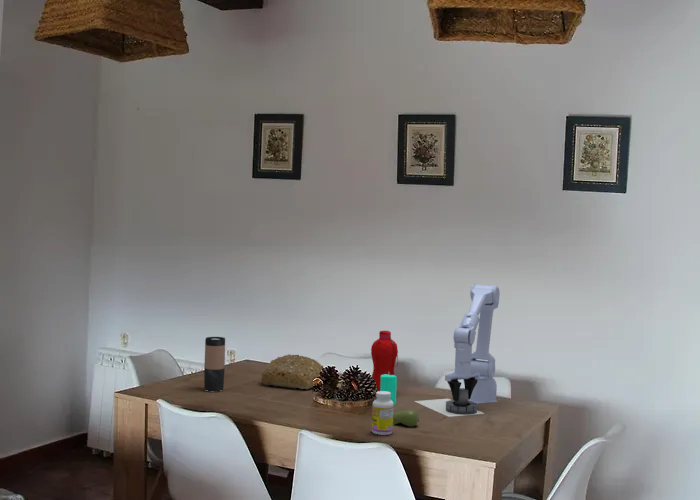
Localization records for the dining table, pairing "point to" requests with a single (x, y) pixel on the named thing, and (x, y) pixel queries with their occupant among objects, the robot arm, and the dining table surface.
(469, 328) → the robot arm
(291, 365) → the bread
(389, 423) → the supplement bottle
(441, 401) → the mat
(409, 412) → the pear
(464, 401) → the cap
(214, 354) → the travel mug
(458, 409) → the toothed grey gear
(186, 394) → the dining table surface
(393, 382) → the candle
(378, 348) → the water bottle
